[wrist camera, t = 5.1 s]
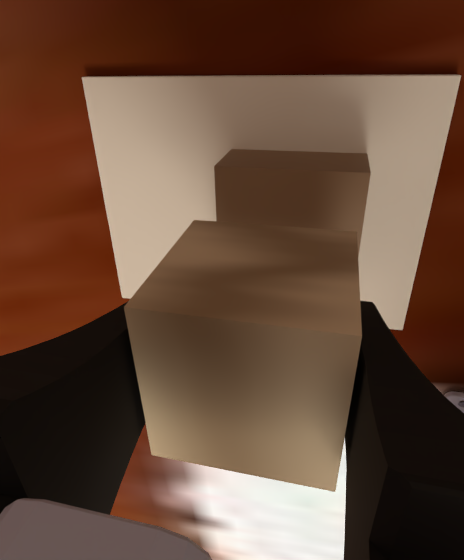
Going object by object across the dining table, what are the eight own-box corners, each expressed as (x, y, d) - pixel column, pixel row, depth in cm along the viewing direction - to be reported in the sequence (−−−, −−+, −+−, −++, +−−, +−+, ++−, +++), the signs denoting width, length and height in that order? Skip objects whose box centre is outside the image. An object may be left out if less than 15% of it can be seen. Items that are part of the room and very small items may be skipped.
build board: (457, 74, 16) (483, 83, 13) (401, 323, 22) (410, 369, 19) (88, 76, 20) (41, 83, 17) (126, 292, 26) (97, 326, 23)
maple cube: (356, 231, 12) (362, 336, 8) (338, 361, 15) (335, 491, 11) (194, 219, 13) (123, 307, 9) (203, 342, 16) (151, 454, 12)
